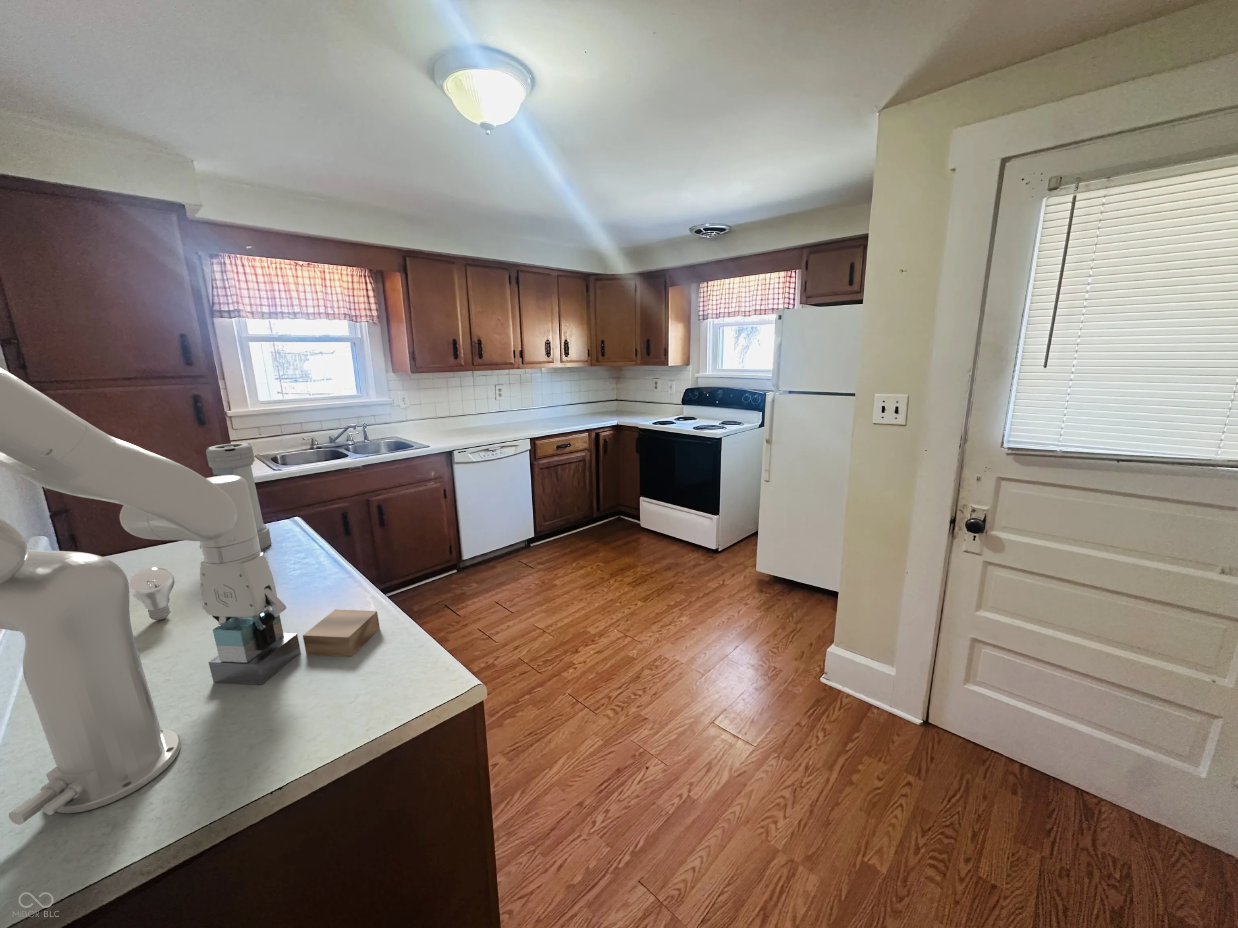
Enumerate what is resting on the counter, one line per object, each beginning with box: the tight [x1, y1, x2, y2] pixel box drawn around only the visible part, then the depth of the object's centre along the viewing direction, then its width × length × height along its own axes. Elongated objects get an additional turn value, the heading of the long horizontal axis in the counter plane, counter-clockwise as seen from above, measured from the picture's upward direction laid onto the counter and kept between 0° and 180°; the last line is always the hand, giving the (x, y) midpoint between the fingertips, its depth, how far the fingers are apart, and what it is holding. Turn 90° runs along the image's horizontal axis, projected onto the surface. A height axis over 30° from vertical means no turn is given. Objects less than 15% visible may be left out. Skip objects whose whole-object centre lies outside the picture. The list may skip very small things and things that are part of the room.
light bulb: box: [128, 565, 176, 622], centre depth 101 cm, size 7×7×12 cm
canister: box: [205, 442, 272, 551], centre depth 136 cm, size 10×10×30 cm
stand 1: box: [208, 632, 302, 686], centre depth 86 cm, size 9×9×4 cm
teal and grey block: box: [212, 607, 284, 663], centre depth 85 cm, size 8×5×6 cm, turn 175°
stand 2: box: [302, 609, 381, 658], centre depth 93 cm, size 9×9×4 cm
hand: (252, 644), depth 85 cm, fingers closed on teal and grey block, 5 cm apart
